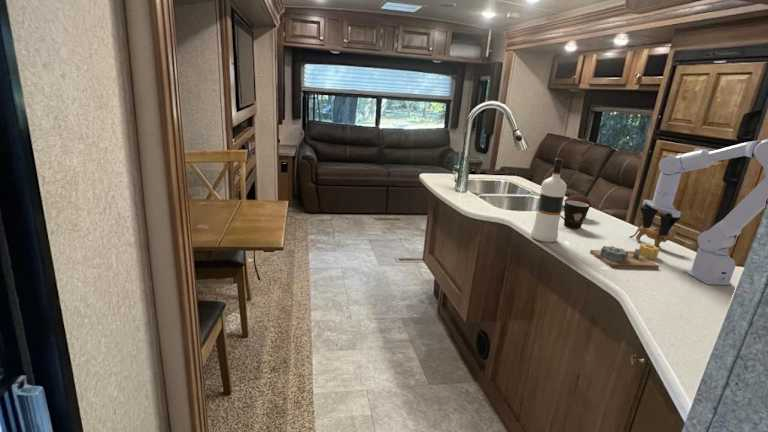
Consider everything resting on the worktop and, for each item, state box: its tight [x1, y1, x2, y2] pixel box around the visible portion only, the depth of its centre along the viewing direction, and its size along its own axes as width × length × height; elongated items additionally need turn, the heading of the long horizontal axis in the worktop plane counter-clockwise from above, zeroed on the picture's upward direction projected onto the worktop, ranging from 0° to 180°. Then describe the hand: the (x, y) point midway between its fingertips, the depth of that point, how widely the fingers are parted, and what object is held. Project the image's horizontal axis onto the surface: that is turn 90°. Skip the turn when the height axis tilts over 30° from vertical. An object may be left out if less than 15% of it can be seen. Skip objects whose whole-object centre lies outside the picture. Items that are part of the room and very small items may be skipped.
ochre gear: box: [638, 243, 661, 260], centre depth 140 cm, size 6×6×4 cm
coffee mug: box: [560, 201, 589, 230], centre depth 167 cm, size 12×9×10 cm
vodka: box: [530, 157, 567, 244], centre depth 146 cm, size 9×9×30 cm
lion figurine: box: [629, 224, 677, 248], centre depth 151 cm, size 15×5×9 cm, turn 34°
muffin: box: [563, 193, 592, 220], centre depth 182 cm, size 12×11×10 cm
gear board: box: [589, 245, 660, 270], centre depth 133 cm, size 12×16×4 cm
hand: (654, 231), depth 137 cm, fingers open, 7 cm apart
